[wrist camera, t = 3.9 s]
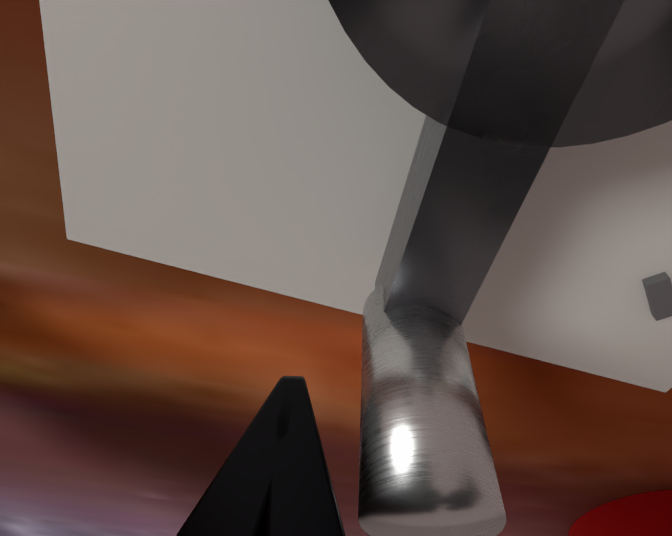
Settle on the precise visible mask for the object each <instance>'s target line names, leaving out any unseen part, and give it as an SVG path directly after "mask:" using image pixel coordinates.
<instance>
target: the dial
mask: <svg viewBox="0 0 672 536" xmlns="http://www.w3.org/2000/svg"><path fill="white" fill-rule="evenodd" d="M328 1H329V3H330V4H331V6H332V8H333V10H334V12H335V14H336V16H337V18H338V20H339V22H340V24H341V25H342V27H343V29H344V31H345V33H346V34H347V36H348V37H349V38H350V40H351V41H352V43H353V44H354V46H355V47H356V48H357V50H358V51H359V53H360V54H361V56H362V57H363V59H364V60H365V61H366V63H367V64H368V65H369V66H370V67H371V68H372V69H373V70H374V71H375V72H376V73H377V75H378V76H379V77H380V78H381V79H382V80H383V81H384V82H385V83H386V84H387V86H388V87H390V88H391V89H392V90H393V91H394V92H396V93H397V94H398V95H399V96H400V97H402V98H403V99H404V100H405V101H406V102H408V103H409V104H410V105H411V106H412V107H414V108H416V109H417V110H419V111H420V112H422V113H424V114H425V115H426V117H425V120H424V124H423V127H422V130H421V134H420V137H419V140H418V143H417V147H416V150H415V153H414V157H413V160H412V163H411V166H410V170H409V173H408V176H407V179H406V183H405V186H404V189H403V193H402V196H401V199H400V202H399V206H398V209H397V212H396V215H395V219H394V222H393V225H392V229H391V232H390V235H389V238H388V242H387V245H386V248H385V252H384V255H383V258H382V261H381V265H380V268H379V271H378V274H377V278H376V281H375V290H373V291H372V292H371V294H370V295H369V296H368V297H367V299H366V301H365V303H364V307H363V329H362V373H361V418H360V462H359V507H358V521H359V524H360V526H361V528H362V529H363V530H364V531H365V532H366V533H367V534H369V535H370V536H496V535H497V534H499V533H500V532H501V531H502V529H503V528H504V526H505V524H506V514H505V510H504V505H503V501H502V496H501V492H500V488H499V483H498V479H497V475H496V470H495V466H494V462H493V457H492V453H491V449H490V444H489V440H488V436H487V431H486V427H485V422H484V418H483V414H482V409H481V405H480V401H479V396H478V392H477V388H476V383H475V379H474V375H473V370H472V366H471V361H470V357H469V353H468V348H467V344H466V340H465V335H464V331H463V327H462V322H463V321H464V319H465V317H466V315H467V313H468V311H469V309H470V307H471V305H472V303H473V301H474V299H475V297H476V295H477V293H478V291H479V289H480V287H481V285H482V283H483V281H484V279H485V277H486V275H487V273H488V271H489V269H490V267H491V265H492V263H493V261H494V259H495V257H496V255H497V253H498V251H499V249H500V247H501V245H502V243H503V241H504V239H505V237H506V235H507V233H508V231H509V229H510V227H511V225H512V223H513V221H514V219H515V217H516V215H517V213H518V211H519V209H520V207H521V205H522V203H523V201H524V199H525V197H526V195H527V193H528V191H529V189H530V187H531V185H532V184H533V182H534V180H535V178H536V176H537V174H538V172H539V170H540V168H541V166H542V164H543V162H544V160H545V158H546V156H547V154H548V152H549V150H550V148H551V147H568V146H577V145H586V144H594V143H598V142H602V141H607V140H611V139H616V138H620V137H625V136H629V135H632V134H635V133H638V132H641V131H644V130H647V129H650V128H652V127H655V126H658V125H661V124H664V123H667V122H669V121H671V120H672V0H328Z"/></svg>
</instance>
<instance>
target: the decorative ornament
mask: <svg viewBox="0 0 672 536" xmlns="http://www.w3.org/2000/svg"><path fill="white" fill-rule="evenodd" d="M568 536H672V490H661V491H652V492H646V493H640V494H635V495H631V496H627V497H623V498H620V499H617V500H614V501H611V502H608V503H606V504H603V505H601V506H599V507H597V508H595V509H593V510H591V511H589V512H587V513H586V514H584V515H583V516H581V517H580V518H579V519H577V520H576V521H575V523H574V524H573V525H572V526H571V528H570V530H569V534H568Z"/></svg>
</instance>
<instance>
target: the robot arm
mask: <svg viewBox="0 0 672 536" xmlns="http://www.w3.org/2000/svg"><path fill="white" fill-rule="evenodd" d="M177 536H345V532H344V529H343V525H342V521H341V517H340V513H339V509H338V505H337V501H336V498H335V494H334V490H333V486H332V482H331V478H330V474H329V470H328V467H327V463H326V459H325V455H324V451H323V447H322V443H321V440H320V436H319V432H318V428H317V424H316V420H315V416H314V412H313V409H312V405H311V401H310V397H309V393H308V389H307V385H306V382H305V379H304V377H302V376H283V377H282V378H281V379H280V380H279V381H278V383H277V384H276V386H275V387H274V389H273V390H272V392H271V393H270V395H269V396H268V398H267V399H266V401H265V402H264V404H263V405H262V407H261V408H260V410H259V411H258V413H257V414H256V416H255V417H254V419H253V420H252V422H251V423H250V425H249V426H248V428H247V429H246V431H245V432H244V434H243V435H242V437H241V438H240V440H239V441H238V443H237V445H236V446H235V448H234V449H233V451H232V452H231V454H230V455H229V457H228V458H227V460H226V461H225V463H224V464H223V466H222V467H221V469H220V470H219V472H218V473H217V475H216V476H215V478H214V479H213V481H212V482H211V484H210V485H209V487H208V488H207V490H206V491H205V493H204V494H203V496H202V497H201V499H200V500H199V502H198V503H197V505H196V506H195V508H194V509H193V511H192V512H191V514H190V515H189V517H188V518H187V520H186V521H185V523H184V524H183V526H182V527H181V529H180V530H179V532H178V533H177Z"/></svg>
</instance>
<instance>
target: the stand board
mask: <svg viewBox="0 0 672 536" xmlns="http://www.w3.org/2000/svg"><path fill="white" fill-rule="evenodd" d="M39 1H40V10H41V18H42V27H43V36H44V44H45V53H46V62H47V70H48V79H49V87H50V96H51V105H52V113H53V122H54V131H55V139H56V148H57V157H58V165H59V174H60V183H61V191H62V200H63V208H64V217H65V226H66V234H67V239H69V240H73V241H77V242H81V243H84V244H88V245H92V246H96V247H100V248H104V249H108V250H112V251H116V252H120V253H123V254H127V255H131V256H135V257H139V258H143V259H147V260H151V261H155V262H159V263H162V264H166V265H170V266H174V267H178V268H182V269H186V270H190V271H194V272H198V273H201V274H205V275H209V276H213V277H217V278H221V279H225V280H229V281H233V282H237V283H240V284H244V285H248V286H252V287H256V288H260V289H264V290H268V291H272V292H276V293H279V294H283V295H287V296H291V297H295V298H299V299H303V300H307V301H311V302H314V303H318V304H322V305H326V306H330V307H334V308H338V309H342V310H346V311H350V312H353V313H357V314H361V315H363V307H364V303H365V301H366V299H367V297H368V296H369V295H370V294H371V292H372V291H373V290H375V281H376V278H377V274H378V271H379V268H380V265H381V261H382V258H383V255H384V252H385V248H386V245H387V242H388V238H389V235H390V232H391V229H392V225H393V222H394V219H395V215H396V212H397V209H398V206H399V202H400V199H401V196H402V193H403V189H404V186H405V183H406V179H407V176H408V173H409V170H410V166H411V163H412V160H413V157H414V153H415V150H416V147H417V143H418V140H419V137H420V134H421V130H422V127H423V124H424V120H425V117H426V115H425V114H424V113H422V112H420V111H419V110H417V109H416V108H414V107H412V106H411V105H410V104H409V103H408V102H406V101H405V100H404V99H403V98H402V97H400V96H399V95H398V94H397V93H396V92H394V91H393V90H392V89H391V88H390V87H388V86H387V84H386V83H385V82H384V81H383V80H382V79H381V78H380V77H379V76H378V75H377V73H376V72H375V71H374V70H373V69H372V68H371V67H370V66H369V65H368V64H367V63H366V61H365V60H364V59H363V57H362V56H361V54H360V53H359V51H358V50H357V48H356V47H355V46H354V44H353V43H352V41H351V40H350V38H349V37H348V36H347V34H346V33H345V31H344V29H343V27H342V25H341V24H340V22H339V20H338V18H337V16H336V14H335V12H334V10H333V8H332V6H331V4H330V3H329V1H328V0H39ZM462 327H463V331H464V335H465V340H466V341H467V342H470V343H474V344H478V345H482V346H486V347H490V348H494V349H498V350H502V351H506V352H509V353H513V354H517V355H521V356H525V357H529V358H533V359H537V360H541V361H544V362H548V363H552V364H556V365H560V366H564V367H568V368H572V369H576V370H580V371H583V372H587V373H591V374H595V375H599V376H603V377H607V378H611V379H615V380H619V381H622V382H626V383H630V384H634V385H638V386H642V387H646V388H650V389H654V390H658V391H661V392H665V393H666V392H667V391H668V390H669V389H671V388H672V120H671V121H669V122H667V123H664V124H661V125H658V126H655V127H652V128H650V129H647V130H644V131H641V132H638V133H635V134H632V135H629V136H625V137H620V138H616V139H611V140H607V141H602V142H598V143H594V144H586V145H577V146H568V147H551V148H550V150H549V152H548V154H547V156H546V158H545V160H544V162H543V164H542V166H541V168H540V170H539V172H538V174H537V176H536V178H535V180H534V182H533V184H532V185H531V187H530V189H529V191H528V193H527V195H526V197H525V199H524V201H523V203H522V205H521V207H520V209H519V211H518V213H517V215H516V217H515V219H514V221H513V223H512V225H511V227H510V229H509V231H508V233H507V235H506V237H505V239H504V241H503V243H502V245H501V247H500V249H499V251H498V253H497V255H496V257H495V259H494V261H493V263H492V265H491V267H490V269H489V271H488V273H487V275H486V277H485V279H484V281H483V283H482V285H481V287H480V289H479V291H478V293H477V295H476V297H475V299H474V301H473V303H472V305H471V307H470V309H469V311H468V313H467V315H466V317H465V319H464V321H463V322H462Z"/></svg>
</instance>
